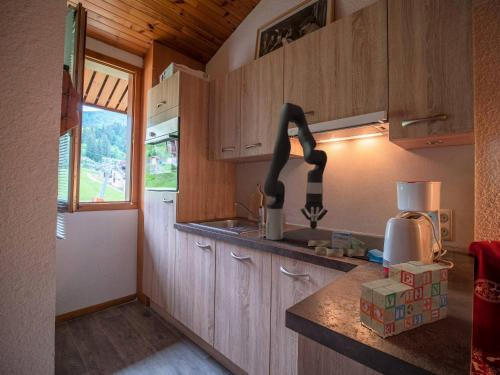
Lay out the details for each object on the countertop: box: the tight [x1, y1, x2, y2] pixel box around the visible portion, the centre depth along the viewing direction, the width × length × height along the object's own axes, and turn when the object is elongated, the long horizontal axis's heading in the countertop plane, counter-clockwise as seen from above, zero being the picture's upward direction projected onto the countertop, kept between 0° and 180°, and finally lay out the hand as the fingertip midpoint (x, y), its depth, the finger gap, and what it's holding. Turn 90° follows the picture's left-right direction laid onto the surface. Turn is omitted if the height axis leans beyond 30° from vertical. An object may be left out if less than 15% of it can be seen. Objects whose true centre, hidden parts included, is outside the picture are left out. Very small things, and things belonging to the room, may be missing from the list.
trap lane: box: [307, 236, 366, 258], centre depth 114 cm, size 22×17×5 cm
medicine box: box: [331, 230, 352, 249], centre depth 116 cm, size 8×4×9 cm, turn 58°
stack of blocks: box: [359, 259, 449, 335], centre depth 56 cm, size 21×6×12 cm, turn 113°
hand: (313, 228), depth 115 cm, fingers closed
